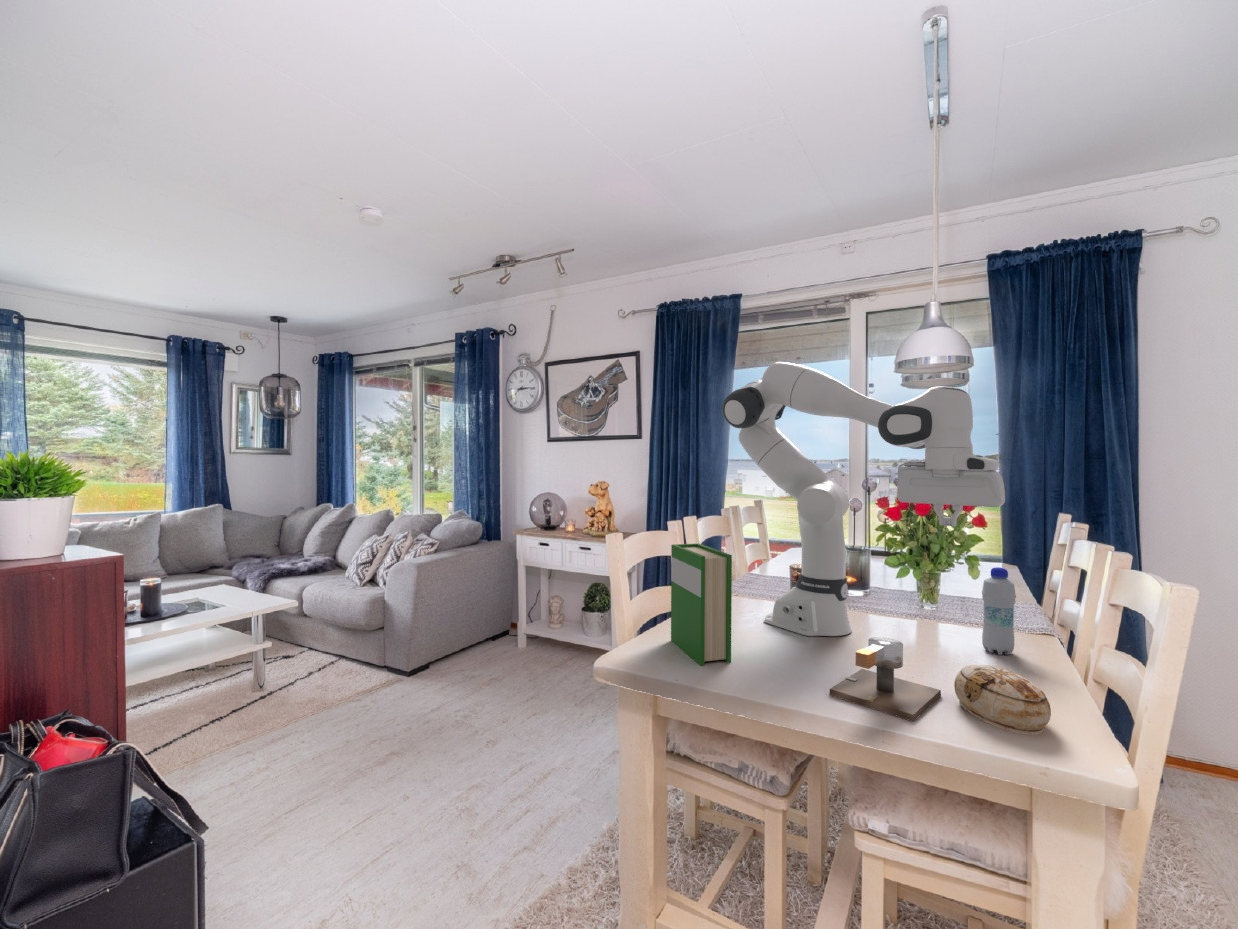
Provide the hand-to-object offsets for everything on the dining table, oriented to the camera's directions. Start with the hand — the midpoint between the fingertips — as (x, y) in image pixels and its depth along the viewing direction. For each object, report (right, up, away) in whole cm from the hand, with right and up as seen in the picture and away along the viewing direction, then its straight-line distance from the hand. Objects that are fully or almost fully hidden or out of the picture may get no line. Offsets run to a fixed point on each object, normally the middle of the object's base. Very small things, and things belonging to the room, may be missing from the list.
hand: (947, 525), depth 121 cm
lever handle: (-22, -25, -16) cm, 37 cm away
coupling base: (-20, -31, -13) cm, 39 cm away
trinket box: (-3, -32, -21) cm, 38 cm away
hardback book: (-52, -31, +11) cm, 62 cm away
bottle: (+19, -31, +11) cm, 38 cm away
